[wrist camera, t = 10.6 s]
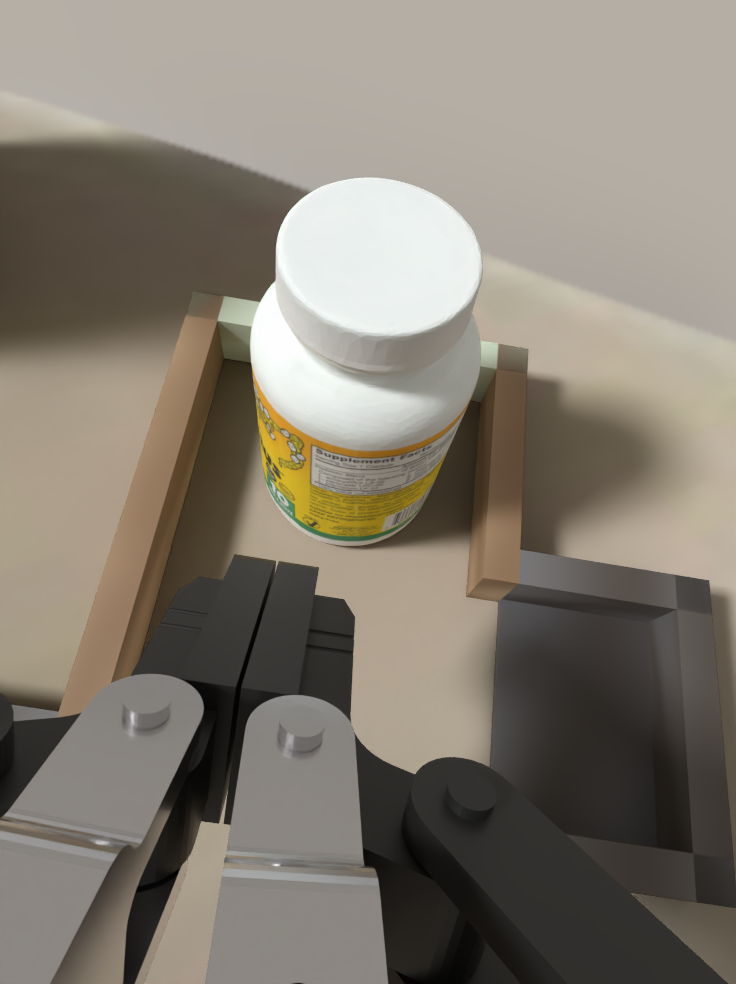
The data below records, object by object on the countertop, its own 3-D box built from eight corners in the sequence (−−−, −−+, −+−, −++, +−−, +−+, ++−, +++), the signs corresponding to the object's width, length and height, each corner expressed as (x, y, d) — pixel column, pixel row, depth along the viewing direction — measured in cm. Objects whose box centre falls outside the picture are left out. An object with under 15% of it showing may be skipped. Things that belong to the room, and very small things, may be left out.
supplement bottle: (430, 554, 20) (532, 380, 11) (256, 546, 20) (223, 360, 11) (426, 405, 22) (509, 164, 14) (269, 395, 22) (251, 139, 13)
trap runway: (-453, 1428, 12) (-591, 1548, 10) (44, 302, 22) (21, 260, 21) (732, 1561, 12) (806, 1696, 11) (660, 409, 23) (691, 377, 21)
